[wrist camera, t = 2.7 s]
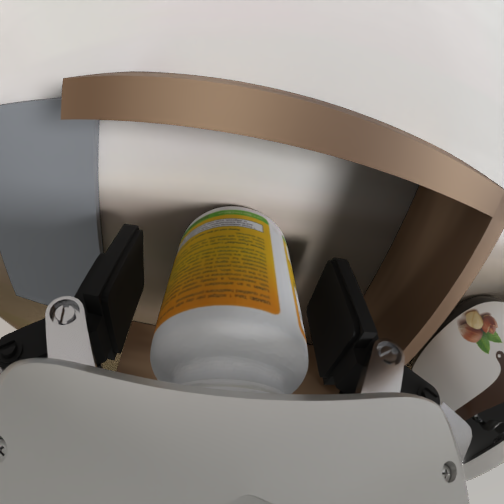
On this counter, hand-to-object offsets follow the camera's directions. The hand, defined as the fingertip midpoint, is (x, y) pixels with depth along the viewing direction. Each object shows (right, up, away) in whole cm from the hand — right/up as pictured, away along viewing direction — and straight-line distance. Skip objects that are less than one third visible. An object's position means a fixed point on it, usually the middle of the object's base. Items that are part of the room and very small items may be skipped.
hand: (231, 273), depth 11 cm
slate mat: (-10, +2, 0) cm, 10 cm away
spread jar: (+16, -7, +7) cm, 19 cm away
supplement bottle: (0, +1, +1) cm, 2 cm away
